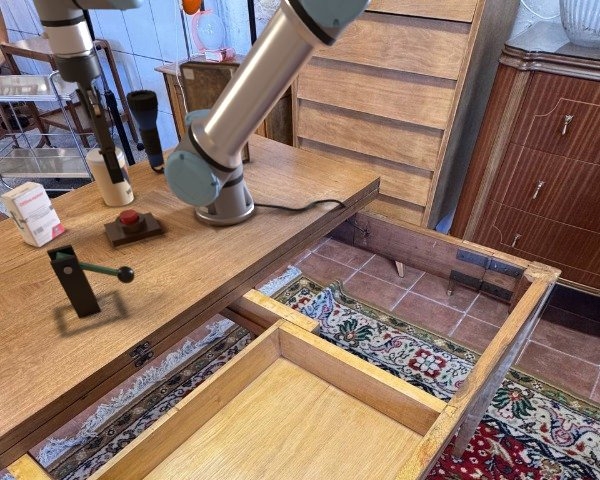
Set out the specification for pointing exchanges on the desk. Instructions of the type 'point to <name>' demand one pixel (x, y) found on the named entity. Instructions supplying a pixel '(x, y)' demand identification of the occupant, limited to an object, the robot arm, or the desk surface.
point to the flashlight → (147, 124)
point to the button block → (132, 230)
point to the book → (208, 87)
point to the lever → (106, 270)
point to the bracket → (74, 281)
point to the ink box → (33, 213)
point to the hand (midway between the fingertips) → (118, 181)
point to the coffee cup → (110, 192)
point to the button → (128, 216)
